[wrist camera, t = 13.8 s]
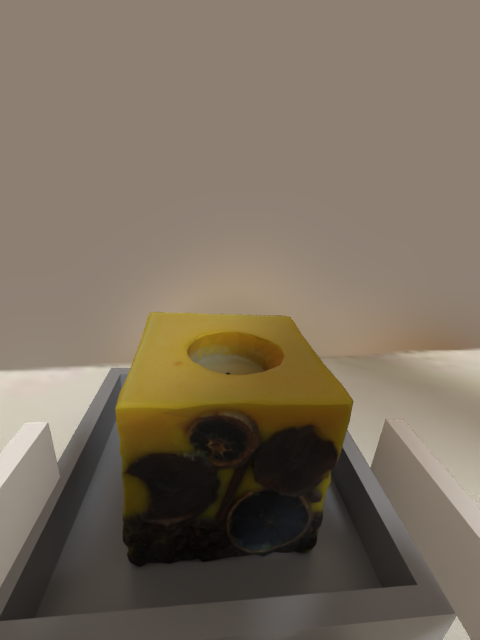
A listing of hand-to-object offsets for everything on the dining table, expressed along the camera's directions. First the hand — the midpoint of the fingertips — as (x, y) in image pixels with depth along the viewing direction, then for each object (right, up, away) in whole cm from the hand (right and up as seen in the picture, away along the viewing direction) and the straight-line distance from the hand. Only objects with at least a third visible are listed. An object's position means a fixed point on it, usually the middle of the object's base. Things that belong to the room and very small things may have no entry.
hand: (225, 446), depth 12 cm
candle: (-1, -6, +8) cm, 10 cm away
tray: (-1, -6, +8) cm, 11 cm away
